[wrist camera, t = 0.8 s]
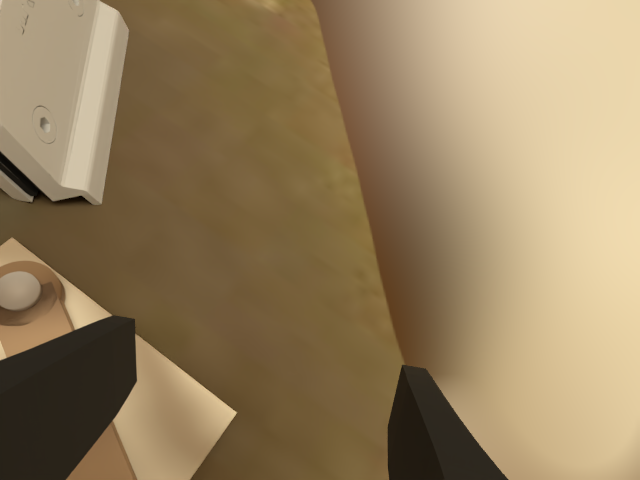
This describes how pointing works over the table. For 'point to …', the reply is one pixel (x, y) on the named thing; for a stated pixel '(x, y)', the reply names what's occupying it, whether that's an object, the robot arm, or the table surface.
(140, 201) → the table surface
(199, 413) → the latch board
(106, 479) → the link
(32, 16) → the white pencil case
